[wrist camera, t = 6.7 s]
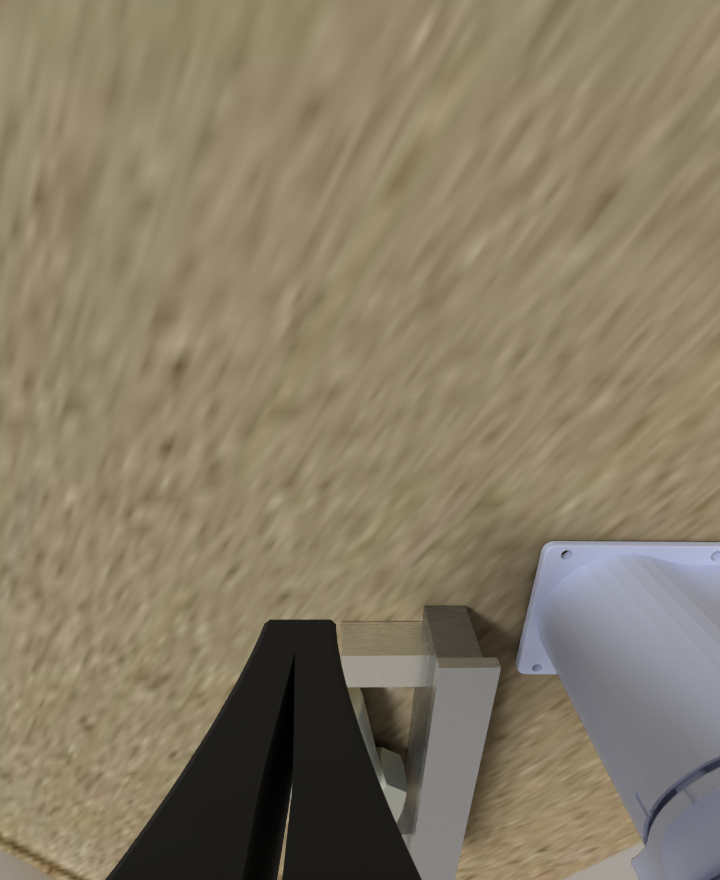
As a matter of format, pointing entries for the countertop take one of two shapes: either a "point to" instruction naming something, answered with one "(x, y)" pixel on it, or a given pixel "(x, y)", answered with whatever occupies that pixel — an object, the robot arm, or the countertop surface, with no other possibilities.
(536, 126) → the countertop surface
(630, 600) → the robot arm
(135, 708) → the countertop surface
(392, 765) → the pipe fitting
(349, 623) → the grey bracket
